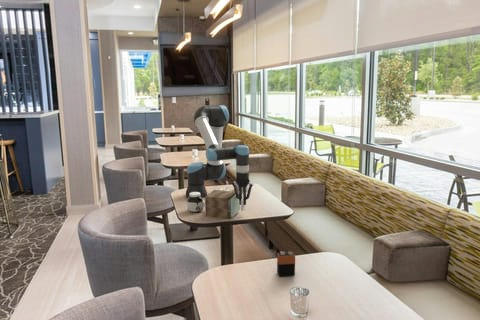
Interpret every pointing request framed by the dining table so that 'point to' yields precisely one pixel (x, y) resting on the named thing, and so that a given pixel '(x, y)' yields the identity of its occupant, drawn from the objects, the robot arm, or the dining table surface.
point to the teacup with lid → (242, 187)
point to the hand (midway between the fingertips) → (242, 209)
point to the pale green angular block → (234, 206)
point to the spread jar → (195, 202)
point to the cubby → (218, 203)
